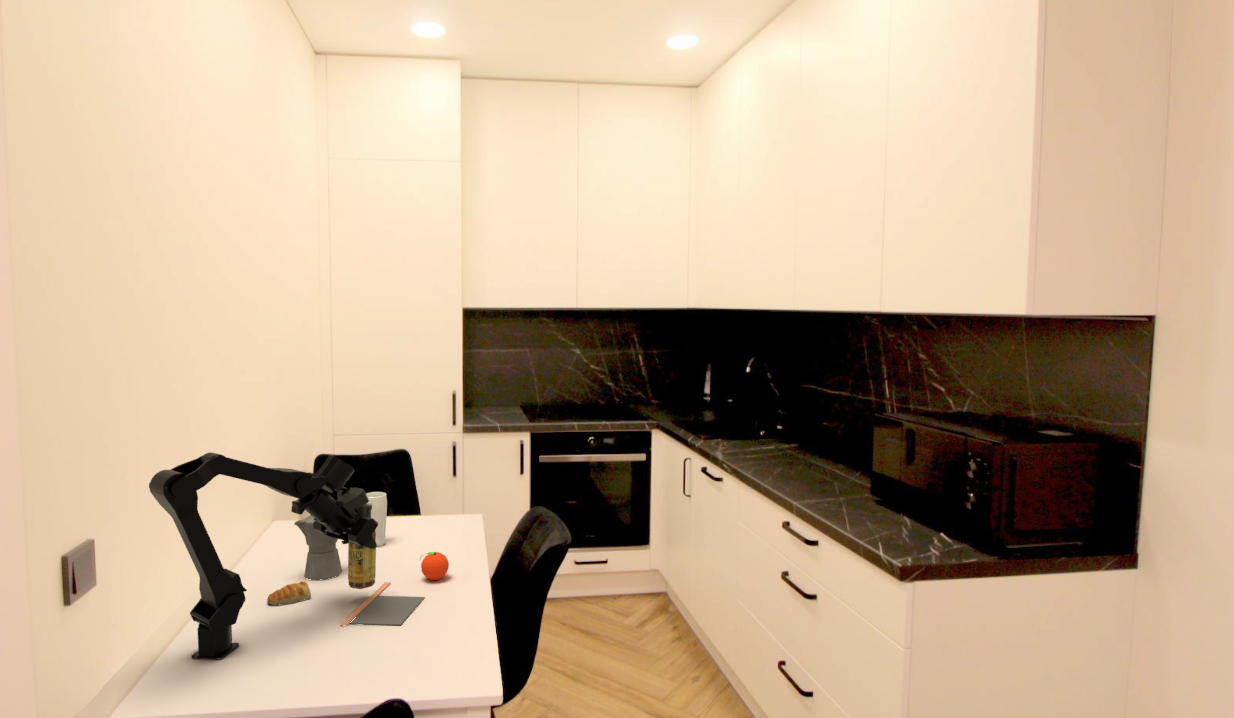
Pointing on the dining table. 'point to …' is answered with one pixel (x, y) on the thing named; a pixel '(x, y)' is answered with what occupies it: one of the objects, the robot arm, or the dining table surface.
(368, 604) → the terracotta line
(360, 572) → the sauce bottle
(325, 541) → the coffeepot
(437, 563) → the clementine
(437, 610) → the dining table surface
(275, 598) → the pastry
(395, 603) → the charcoal mat
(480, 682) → the dining table surface
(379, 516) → the drinking glass
